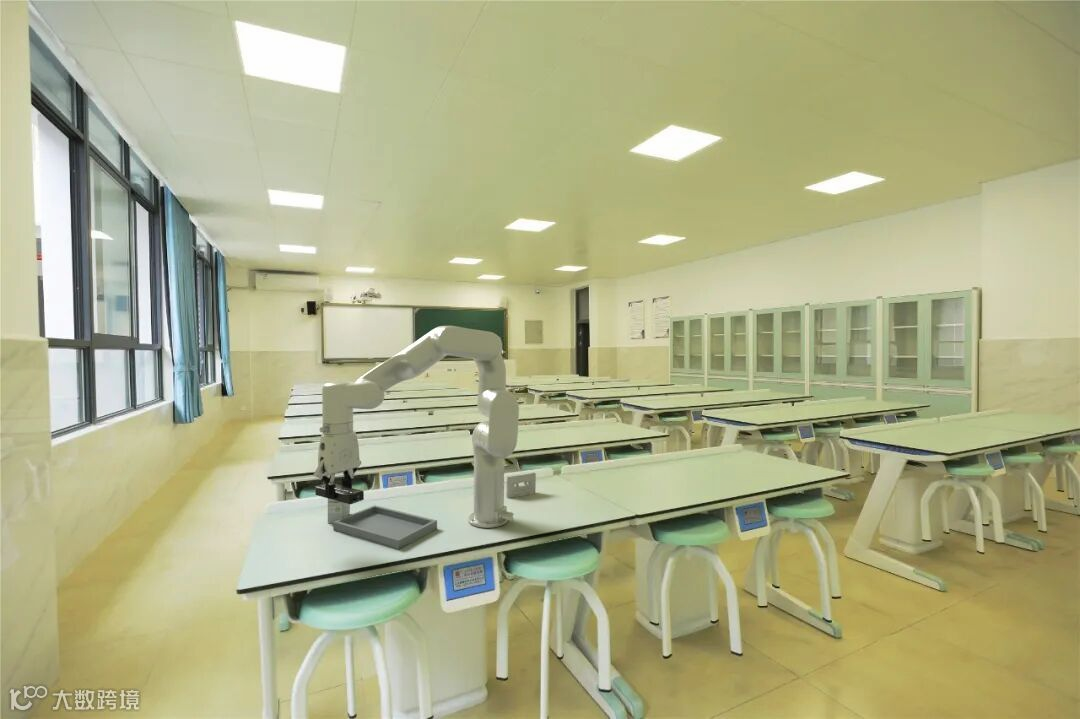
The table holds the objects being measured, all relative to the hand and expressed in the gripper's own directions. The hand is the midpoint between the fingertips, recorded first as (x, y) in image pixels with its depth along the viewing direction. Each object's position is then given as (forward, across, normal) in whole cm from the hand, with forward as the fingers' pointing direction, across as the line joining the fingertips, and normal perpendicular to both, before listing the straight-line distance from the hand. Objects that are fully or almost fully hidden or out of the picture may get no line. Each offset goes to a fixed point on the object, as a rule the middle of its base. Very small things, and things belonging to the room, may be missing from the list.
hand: (338, 494), depth 126 cm
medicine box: (+15, +15, +18) cm, 28 cm away
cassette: (+16, +63, -21) cm, 68 cm away
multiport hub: (+1, 0, 0) cm, 1 cm away
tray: (+15, +16, -1) cm, 22 cm away
